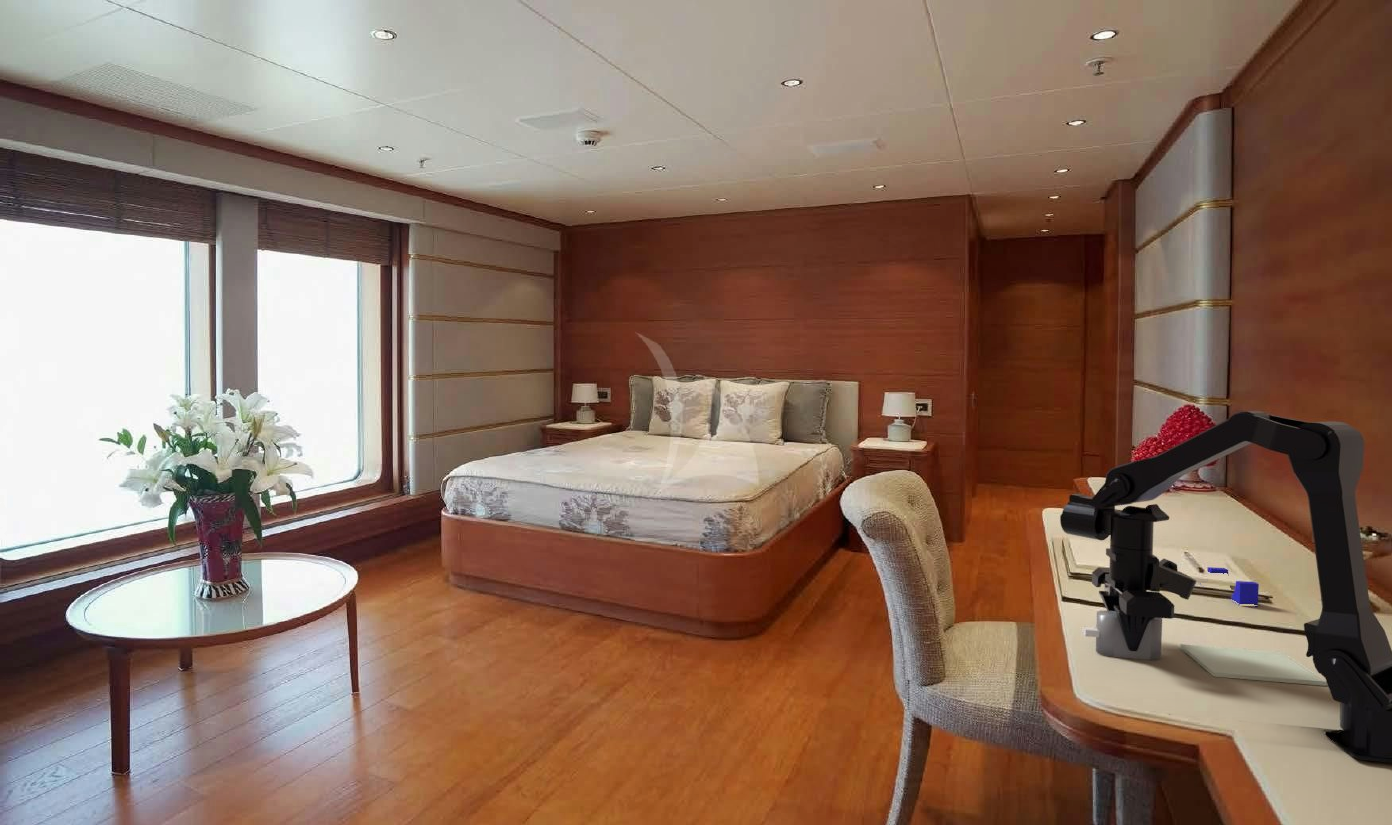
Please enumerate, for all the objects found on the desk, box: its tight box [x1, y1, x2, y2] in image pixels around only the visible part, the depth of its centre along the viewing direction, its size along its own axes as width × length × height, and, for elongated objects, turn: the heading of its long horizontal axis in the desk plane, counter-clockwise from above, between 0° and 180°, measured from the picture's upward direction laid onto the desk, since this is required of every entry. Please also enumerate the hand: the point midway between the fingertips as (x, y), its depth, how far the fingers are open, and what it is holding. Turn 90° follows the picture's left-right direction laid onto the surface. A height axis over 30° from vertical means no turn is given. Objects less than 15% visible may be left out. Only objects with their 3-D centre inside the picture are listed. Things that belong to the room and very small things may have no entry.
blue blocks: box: [1206, 566, 1260, 606], centre depth 143 cm, size 12×4×6 cm, turn 170°
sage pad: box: [1179, 643, 1328, 687], centre depth 112 cm, size 12×14×1 cm
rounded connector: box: [1082, 610, 1163, 661], centre depth 117 cm, size 4×11×6 cm, turn 77°
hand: (1128, 645), depth 117 cm, fingers closed on rounded connector, 4 cm apart
